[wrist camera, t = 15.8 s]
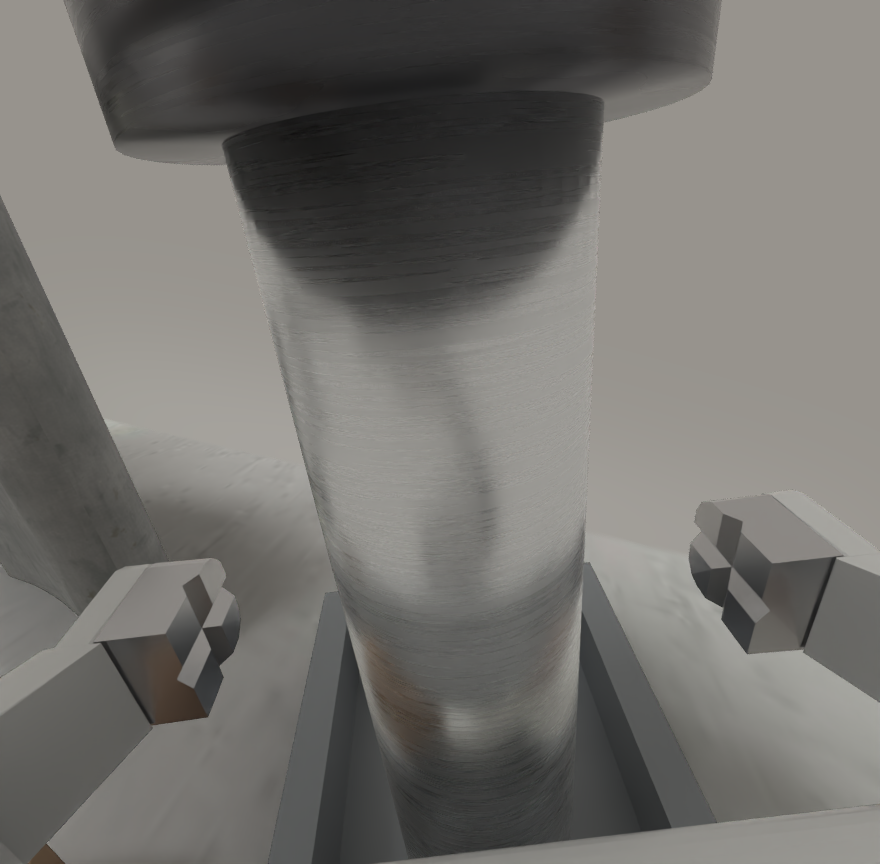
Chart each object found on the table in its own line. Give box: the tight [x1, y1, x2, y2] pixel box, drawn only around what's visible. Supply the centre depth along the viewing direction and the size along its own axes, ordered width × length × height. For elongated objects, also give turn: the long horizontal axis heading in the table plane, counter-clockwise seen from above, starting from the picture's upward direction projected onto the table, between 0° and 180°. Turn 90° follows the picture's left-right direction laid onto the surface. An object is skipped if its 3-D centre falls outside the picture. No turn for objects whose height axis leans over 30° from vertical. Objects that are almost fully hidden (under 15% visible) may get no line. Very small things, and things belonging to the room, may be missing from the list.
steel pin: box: [64, 0, 722, 859], centre depth 8 cm, size 5×5×18 cm
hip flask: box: [0, 196, 169, 616], centre depth 19 cm, size 16×4×20 cm, turn 57°
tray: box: [268, 562, 717, 864], centre depth 11 cm, size 10×16×3 cm, turn 3°
